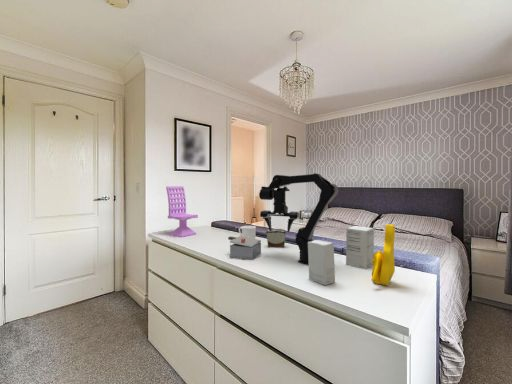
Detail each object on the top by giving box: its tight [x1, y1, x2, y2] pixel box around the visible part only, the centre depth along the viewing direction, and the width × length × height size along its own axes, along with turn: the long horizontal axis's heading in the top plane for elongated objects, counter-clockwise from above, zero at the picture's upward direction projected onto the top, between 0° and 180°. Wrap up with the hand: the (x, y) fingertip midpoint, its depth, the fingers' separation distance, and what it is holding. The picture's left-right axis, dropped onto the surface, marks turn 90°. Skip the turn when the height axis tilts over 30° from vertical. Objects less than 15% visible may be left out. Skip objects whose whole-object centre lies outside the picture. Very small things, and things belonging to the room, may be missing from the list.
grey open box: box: [229, 242, 262, 261], centre depth 129 cm, size 12×12×6 cm
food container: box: [265, 228, 288, 249], centre depth 149 cm, size 12×6×10 cm, turn 84°
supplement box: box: [345, 225, 375, 270], centre depth 115 cm, size 10×9×17 cm
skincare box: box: [308, 239, 336, 286], centre depth 96 cm, size 8×6×15 cm
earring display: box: [165, 185, 199, 238], centre depth 183 cm, size 15×17×35 cm
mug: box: [238, 225, 257, 239], centre depth 156 cm, size 11×9×10 cm
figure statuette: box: [371, 223, 396, 287], centre depth 93 cm, size 18×8×22 cm, turn 145°
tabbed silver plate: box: [227, 235, 262, 247], centre depth 130 cm, size 15×12×2 cm
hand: (279, 231), depth 126 cm, fingers open, 9 cm apart
